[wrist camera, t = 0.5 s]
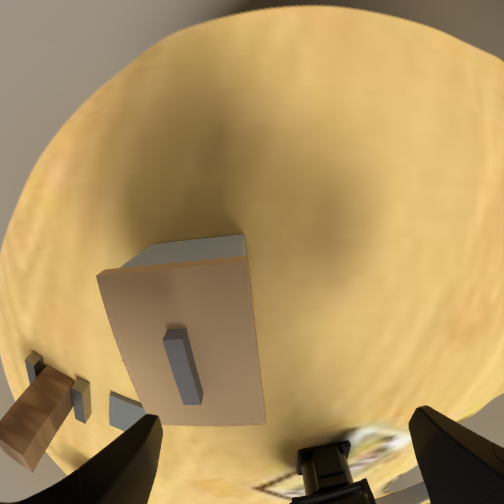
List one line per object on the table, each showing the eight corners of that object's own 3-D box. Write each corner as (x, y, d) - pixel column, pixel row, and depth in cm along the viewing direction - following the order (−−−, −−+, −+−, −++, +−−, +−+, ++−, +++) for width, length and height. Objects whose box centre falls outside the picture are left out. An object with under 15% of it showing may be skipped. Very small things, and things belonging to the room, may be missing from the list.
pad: (163, 411, 25) (162, 415, 24) (157, 439, 26) (156, 442, 26) (111, 391, 24) (109, 394, 24) (111, 421, 26) (109, 424, 25)
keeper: (89, 382, 24) (82, 393, 22) (91, 413, 25) (85, 423, 23) (33, 351, 23) (25, 359, 21) (39, 384, 25) (32, 393, 23)
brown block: (74, 380, 24) (22, 455, 12) (76, 401, 25) (32, 472, 13) (47, 365, 24) (-9, 431, 12) (51, 386, 25) (3, 451, 13)
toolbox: (261, 353, 23) (266, 435, 14) (175, 358, 23) (147, 434, 14) (247, 229, 20) (246, 268, 11) (147, 240, 20) (86, 282, 11)
